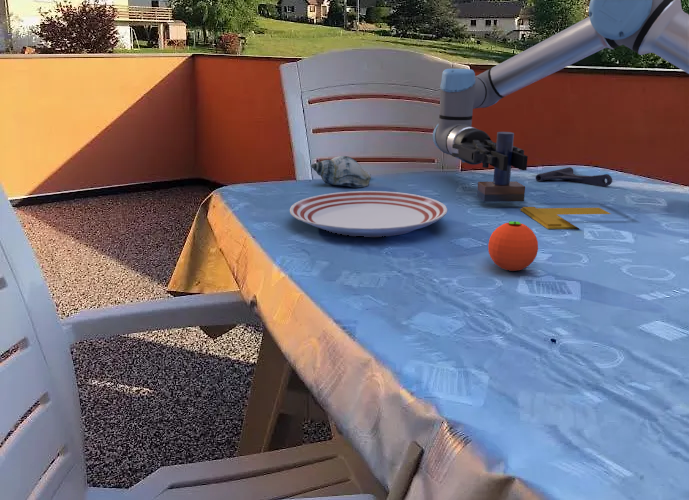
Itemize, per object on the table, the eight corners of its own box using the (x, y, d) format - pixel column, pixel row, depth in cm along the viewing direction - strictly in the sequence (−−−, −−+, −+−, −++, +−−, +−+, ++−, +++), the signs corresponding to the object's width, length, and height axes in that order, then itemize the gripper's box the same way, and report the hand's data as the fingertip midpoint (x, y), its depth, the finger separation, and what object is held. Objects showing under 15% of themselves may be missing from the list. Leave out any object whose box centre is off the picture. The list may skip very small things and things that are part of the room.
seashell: (364, 196, 154) (312, 190, 157) (373, 176, 159) (323, 171, 162) (361, 171, 149) (308, 166, 153) (371, 152, 155) (319, 148, 158)
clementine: (483, 259, 106) (487, 213, 104) (530, 261, 105) (535, 215, 103) (488, 276, 98) (492, 226, 96) (539, 278, 98) (544, 229, 96)
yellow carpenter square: (599, 209, 138) (599, 205, 138) (634, 228, 125) (635, 223, 125) (520, 210, 137) (520, 206, 136) (547, 229, 123) (548, 224, 123)
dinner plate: (297, 248, 110) (297, 227, 109) (284, 207, 136) (283, 190, 135) (467, 243, 114) (469, 223, 113) (423, 204, 140) (423, 188, 139)
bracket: (594, 191, 155) (596, 178, 154) (535, 180, 165) (536, 169, 165) (624, 183, 165) (626, 171, 164) (566, 174, 175) (568, 162, 174)
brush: (515, 195, 143) (521, 131, 139) (524, 201, 138) (530, 134, 134) (476, 196, 142) (481, 131, 138) (484, 201, 137) (489, 134, 133)
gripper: (503, 161, 157) (553, 182, 135) (433, 162, 154) (473, 184, 132) (505, 127, 155) (557, 142, 133) (434, 127, 152) (475, 143, 130)
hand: (515, 163), depth 133 cm, fingers closed on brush, 3 cm apart
